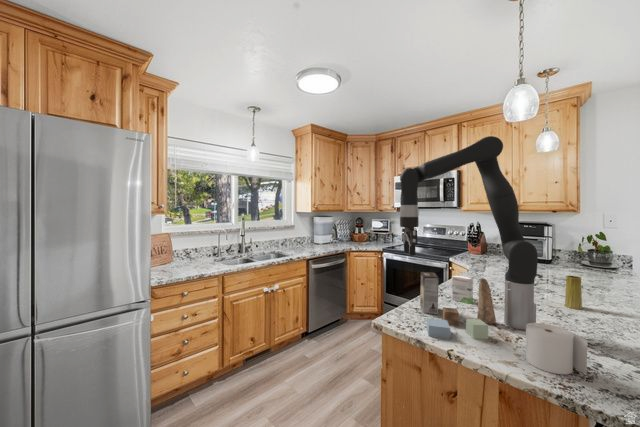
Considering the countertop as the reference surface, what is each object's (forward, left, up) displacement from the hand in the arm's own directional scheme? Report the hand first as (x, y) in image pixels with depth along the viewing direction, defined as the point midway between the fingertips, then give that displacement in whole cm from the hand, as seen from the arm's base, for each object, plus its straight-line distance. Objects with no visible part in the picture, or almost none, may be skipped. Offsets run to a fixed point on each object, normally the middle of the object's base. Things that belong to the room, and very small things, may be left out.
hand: (409, 253), depth 117 cm
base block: (-10, +16, -26) cm, 32 cm away
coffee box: (-9, -8, -26) cm, 29 cm away
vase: (-74, -33, -26) cm, 85 cm away
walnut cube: (-16, +4, -26) cm, 31 cm away
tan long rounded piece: (-30, -1, -26) cm, 40 cm away
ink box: (-26, -27, -26) cm, 46 cm away
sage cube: (-23, +14, -26) cm, 37 cm away
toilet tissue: (-39, +28, -26) cm, 54 cm away
